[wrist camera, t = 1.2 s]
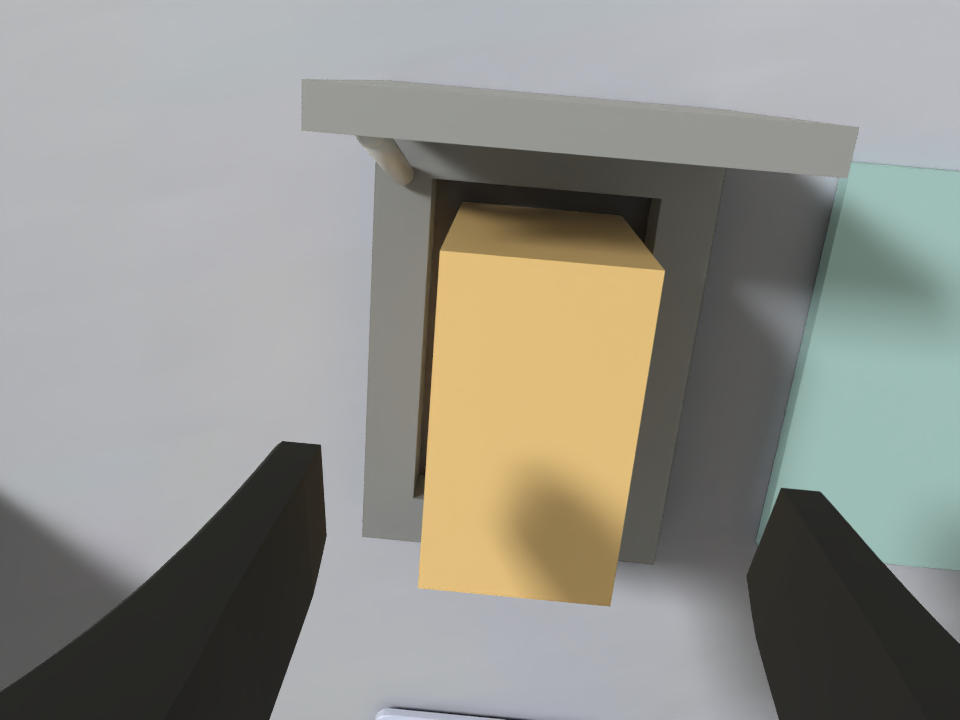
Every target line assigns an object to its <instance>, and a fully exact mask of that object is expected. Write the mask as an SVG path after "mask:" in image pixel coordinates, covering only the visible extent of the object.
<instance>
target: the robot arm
mask: <svg viewBox="0 0 960 720" xmlns="http://www.w3.org/2000/svg"><path fill="white" fill-rule="evenodd" d="M326 536H327V535H326V519H325V503H324V487H323V471H322V456H321V445H317V444H307V443H296V442H285V441H282V442H281V443H279V444H278V445H277V446H276V447H275V448H274V449H273V450H272V451H271V453H270V454H269V455H268V456H267V457H266V458H265V460H264V461H263V462H262V463H261V464H260V465H259V467H258V468H257V469H256V470H255V471H254V472H253V474H252V475H251V476H250V477H249V478H248V479H247V480H246V482H245V483H244V484H243V485H242V486H241V487H240V488H239V489H238V490H237V491H236V493H235V494H234V495H233V496H232V497H231V498H230V499H229V500H228V501H227V502H226V504H225V505H224V506H223V507H222V508H221V509H220V510H219V511H218V512H217V513H216V514H215V515H214V516H213V517H212V518H211V519H210V520H209V521H208V522H207V523H206V524H205V525H204V526H203V527H202V528H201V530H200V531H199V532H198V533H197V534H196V535H195V536H194V537H193V538H192V539H191V540H190V541H189V542H188V543H187V544H186V545H184V546H183V547H182V548H181V549H180V550H179V551H178V552H177V553H176V554H175V555H174V556H173V557H172V558H171V559H170V560H169V561H167V562H166V563H165V564H164V565H163V566H162V567H161V568H160V569H159V570H158V571H157V572H156V573H155V574H154V575H153V576H151V577H150V578H149V579H148V580H147V581H146V582H145V583H144V584H143V585H141V586H140V587H139V588H138V589H137V590H136V591H134V592H133V593H132V594H131V595H130V596H129V597H128V598H126V599H125V600H124V601H123V602H122V603H120V604H119V605H118V606H117V607H116V608H114V609H113V610H112V611H111V612H109V613H108V614H107V615H106V616H104V617H103V618H102V619H101V620H99V621H98V622H97V623H96V624H94V625H93V626H92V627H91V628H89V629H88V630H87V631H85V632H84V633H83V634H81V635H80V636H79V637H77V638H76V639H75V640H73V641H72V642H71V643H69V644H68V645H67V646H65V647H64V648H63V649H61V650H60V651H58V652H57V653H56V654H54V655H53V656H52V657H50V658H49V659H48V660H46V661H45V662H44V663H42V664H41V665H39V666H38V667H36V668H35V669H34V670H32V671H31V672H29V673H28V674H26V675H25V676H23V677H22V678H20V679H19V680H18V681H16V682H15V683H13V684H11V685H10V686H8V687H7V688H5V689H4V690H2V691H0V720H269V719H270V716H271V713H272V711H273V708H274V705H275V702H276V699H277V696H278V694H279V691H280V688H281V685H282V682H283V680H284V677H285V674H286V671H287V668H288V666H289V663H290V660H291V657H292V654H293V652H294V649H295V646H296V643H297V640H298V637H299V635H300V632H301V629H302V626H303V623H304V620H305V617H306V615H307V612H308V609H309V606H310V603H311V600H312V597H313V594H314V589H315V585H316V581H317V577H318V573H319V568H320V564H321V559H322V555H323V550H324V545H325V541H326ZM747 582H748V589H749V596H750V604H751V611H752V617H753V623H754V629H755V635H756V640H757V643H758V647H759V651H760V655H761V658H762V662H763V665H764V669H765V672H766V676H767V679H768V683H769V686H770V690H771V693H772V697H773V700H774V704H775V707H776V711H777V714H778V718H779V720H960V644H959V643H958V642H957V641H956V640H955V639H954V638H953V637H952V636H951V635H950V634H949V633H948V632H947V631H946V630H945V629H944V628H943V627H942V626H941V625H940V624H939V623H938V622H937V621H936V620H935V618H934V617H933V616H932V615H931V614H930V613H929V612H928V611H927V610H926V609H925V608H924V607H923V606H922V605H921V604H920V603H919V602H918V601H917V599H916V598H915V597H914V596H913V595H912V594H911V593H910V592H909V591H908V590H907V589H906V588H905V586H904V585H903V584H902V583H901V582H900V581H899V580H898V579H897V578H896V577H895V575H894V574H893V573H892V572H891V571H890V570H889V569H888V568H887V566H886V565H885V564H884V563H883V562H882V561H881V560H880V559H879V557H878V556H877V555H876V554H875V553H874V552H873V551H872V549H871V548H870V547H869V546H868V545H867V544H866V543H865V541H864V540H863V539H862V538H861V537H860V536H859V535H858V533H857V532H856V531H855V530H854V529H853V528H852V526H851V525H850V524H849V523H848V522H847V521H846V520H845V518H844V517H843V516H842V515H841V514H840V513H839V512H838V510H837V509H836V508H835V507H834V506H833V505H832V504H831V502H830V501H829V500H828V499H827V498H826V497H825V496H824V495H823V494H822V493H821V491H811V490H800V489H789V488H781V489H780V492H779V494H778V497H777V499H776V502H775V504H774V507H773V509H772V512H771V515H770V517H769V520H768V522H767V525H766V527H765V530H764V533H763V535H762V538H761V540H760V543H759V545H758V548H757V551H756V553H755V556H754V558H753V561H752V563H751V566H750V569H749V571H748V574H747ZM375 720H504V719H494V718H483V717H473V716H463V715H453V714H443V713H432V712H422V711H412V710H402V709H391V708H387V709H383V710H380V711H379V712H378V713H377V715H376V718H375Z"/></svg>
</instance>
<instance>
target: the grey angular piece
mask: <svg viewBox="0 0 960 720" xmlns="http://www.w3.org/2000/svg"><path fill="white" fill-rule="evenodd" d="M302 131H313V132H324V133H336V134H347V135H356V138H357V140H358V141H359V143H360V144H361V145H362V146H363V147H364V148H365V150H366V151H367V152H368V153H369V154H370V155H371V156H372V158H373V159H374V160H375V161H376V164H375V192H374V221H373V249H372V277H371V305H370V333H369V361H368V389H367V417H366V445H365V473H364V501H363V529H362V537H370V538H380V539H391V540H401V541H412V542H421V535H422V520H423V504H424V489H425V476H423V475H419V467H420V451H421V435H422V418H423V402H424V386H425V370H426V354H427V337H428V321H429V305H430V289H431V273H432V256H433V240H434V224H435V208H436V192H437V179H444V180H455V181H466V182H478V183H489V184H500V185H512V186H523V187H534V188H546V189H557V190H568V191H580V192H591V193H602V194H614V195H625V196H637V197H648V198H651V204H650V210H649V217H648V223H647V230H646V237H645V243H644V245H645V246H646V247H647V249H648V250H649V251H650V252H651V254H652V255H653V256H654V257H655V259H656V260H657V261H658V262H659V264H660V265H661V266H662V268H663V269H664V270H665V274H664V280H663V286H662V292H661V299H660V305H659V311H658V317H657V323H656V329H655V335H654V342H653V348H652V354H651V360H650V366H649V372H648V378H647V384H646V391H645V397H644V403H643V409H642V415H641V421H640V427H639V434H638V440H637V446H636V452H635V458H634V464H633V470H632V476H631V483H630V489H629V495H628V501H627V507H626V513H625V519H624V525H623V532H622V538H621V544H620V550H619V556H618V561H623V562H633V563H644V564H654V561H655V556H656V550H657V545H658V539H659V534H660V528H661V523H662V517H663V512H664V506H665V501H666V495H667V490H668V484H669V479H670V473H671V468H672V462H673V457H674V451H675V446H676V440H677V435H678V429H679V424H680V418H681V413H682V407H683V402H684V396H685V391H686V385H687V380H688V374H689V369H690V363H691V358H692V352H693V347H694V341H695V336H696V330H697V325H698V319H699V314H700V308H701V303H702V297H703V292H704V286H705V281H706V275H707V270H708V264H709V259H710V253H711V248H712V242H713V237H714V231H715V226H716V220H717V215H718V209H719V204H720V198H721V193H722V187H723V182H724V176H725V171H726V168H736V169H747V170H759V171H770V172H782V173H793V174H805V175H816V176H828V177H839V178H848V174H849V169H850V165H851V161H852V157H853V152H854V148H855V144H856V139H857V135H858V131H859V127H852V126H844V125H836V124H829V123H821V122H814V121H806V120H798V119H791V118H783V117H776V116H768V115H760V114H753V113H745V112H738V111H730V110H722V109H711V108H700V107H688V106H677V105H665V104H653V103H642V102H630V101H619V100H607V99H595V98H584V97H572V96H561V95H549V94H538V93H526V92H514V91H503V90H491V89H480V88H468V87H456V86H445V85H433V84H422V83H410V82H399V81H384V80H316V79H302Z"/></svg>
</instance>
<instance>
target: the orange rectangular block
mask: <svg viewBox="0 0 960 720" xmlns="http://www.w3.org/2000/svg"><path fill="white" fill-rule="evenodd" d="M664 274H665V270H664V269H663V268H662V266H661V265H660V264H659V262H658V261H657V260H656V259H655V257H654V256H653V255H652V254H651V252H650V251H649V250H648V249H647V247H646V246H645V245H644V243H643V242H642V241H641V240H640V238H639V237H638V236H637V235H636V233H635V232H634V231H633V230H632V228H631V227H630V226H629V224H628V223H627V222H626V221H625V219H624V218H623V217H622V216H621V215H610V214H599V213H587V212H576V211H565V210H553V209H542V208H531V207H519V206H508V205H497V204H485V203H474V202H462V204H461V206H460V208H459V210H458V212H457V215H456V217H455V219H454V221H453V223H452V225H451V228H450V230H449V232H448V234H447V236H446V239H445V241H444V243H443V245H442V247H441V249H440V257H439V272H438V288H437V303H436V319H435V334H434V350H433V365H432V381H431V396H430V411H429V427H428V442H427V458H426V473H425V489H424V504H423V520H422V535H421V551H420V566H419V581H418V588H423V589H433V590H444V591H454V592H465V593H475V594H486V595H496V596H507V597H517V598H527V599H538V600H548V601H559V602H569V603H580V604H590V605H601V606H610V605H611V599H612V593H613V587H614V581H615V575H616V568H617V562H618V556H619V550H620V544H621V538H622V532H623V525H624V519H625V513H626V507H627V501H628V495H629V489H630V483H631V476H632V470H633V464H634V458H635V452H636V446H637V440H638V434H639V427H640V421H641V415H642V409H643V403H644V397H645V391H646V384H647V378H648V372H649V366H650V360H651V354H652V348H653V342H654V335H655V329H656V323H657V317H658V311H659V305H660V299H661V292H662V286H663V280H664Z"/></svg>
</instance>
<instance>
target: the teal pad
mask: <svg viewBox="0 0 960 720" xmlns="http://www.w3.org/2000/svg"><path fill="white" fill-rule="evenodd" d="M781 488H789V489H800V490H811V491H821V493H822V494H823V495H824V496H825V497H826V498H827V499H828V500H829V501H830V502H831V504H832V505H833V506H834V507H835V508H836V509H837V510H838V512H839V513H840V514H841V515H842V516H843V517H844V518H845V520H846V521H847V522H848V523H849V524H850V525H851V526H852V528H853V529H854V530H855V531H856V532H857V533H858V535H859V536H860V537H861V538H862V539H863V540H864V541H865V543H866V544H867V545H868V546H869V547H870V548H871V549H872V551H873V552H874V553H875V554H876V555H877V556H878V557H879V559H880V560H881V561H882V562H883V563H885V564H896V565H907V566H917V567H928V568H938V569H949V570H960V171H953V170H942V169H930V168H919V167H908V166H896V165H885V164H873V163H862V162H851V165H850V169H849V174H848V178H839V182H838V186H837V190H836V195H835V199H834V203H833V208H832V212H831V216H830V221H829V225H828V229H827V234H826V238H825V243H824V247H823V251H822V256H821V260H820V264H819V269H818V273H817V277H816V282H815V286H814V290H813V295H812V299H811V303H810V308H809V312H808V316H807V321H806V325H805V329H804V334H803V338H802V342H801V347H800V351H799V356H798V360H797V364H796V369H795V373H794V377H793V382H792V386H791V390H790V395H789V399H788V403H787V408H786V412H785V416H784V421H783V425H782V429H781V434H780V438H779V442H778V447H777V451H776V455H775V460H774V464H773V469H772V473H771V477H770V482H769V486H768V490H767V495H766V499H765V503H764V508H763V512H762V516H761V521H760V525H759V529H758V534H757V538H756V543H757V545H759V543H760V540H761V538H762V535H763V533H764V530H765V527H766V525H767V522H768V520H769V517H770V515H771V512H772V509H773V507H774V504H775V502H776V499H777V497H778V494H779V492H780V489H781Z"/></svg>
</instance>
